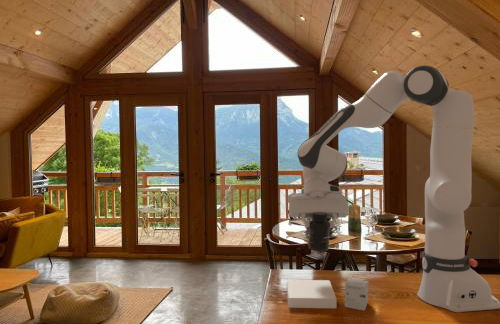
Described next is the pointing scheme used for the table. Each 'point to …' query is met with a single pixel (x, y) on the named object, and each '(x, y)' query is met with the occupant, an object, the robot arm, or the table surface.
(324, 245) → the supplement bottle
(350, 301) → the skincare box
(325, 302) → the stand
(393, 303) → the table surface
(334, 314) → the table surface
